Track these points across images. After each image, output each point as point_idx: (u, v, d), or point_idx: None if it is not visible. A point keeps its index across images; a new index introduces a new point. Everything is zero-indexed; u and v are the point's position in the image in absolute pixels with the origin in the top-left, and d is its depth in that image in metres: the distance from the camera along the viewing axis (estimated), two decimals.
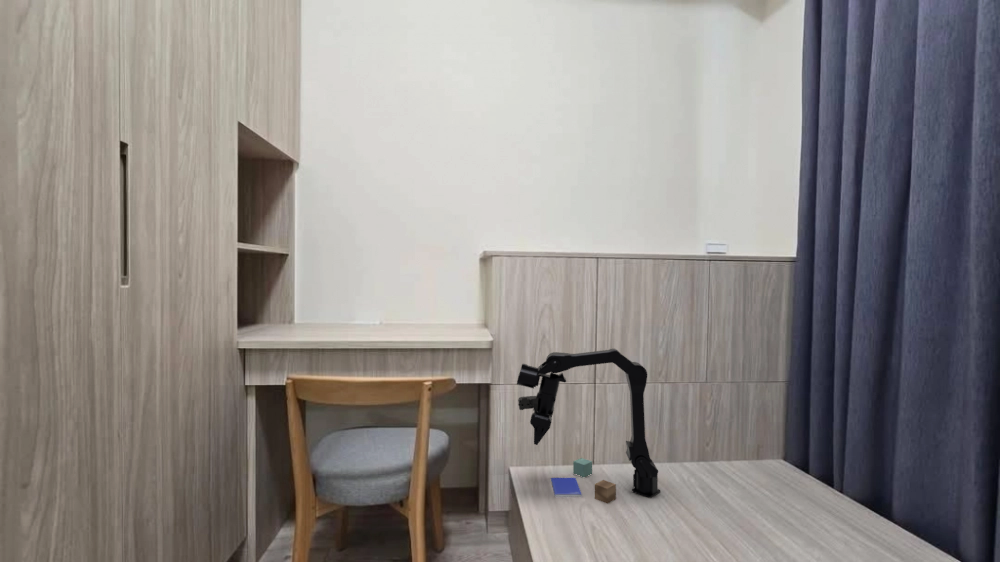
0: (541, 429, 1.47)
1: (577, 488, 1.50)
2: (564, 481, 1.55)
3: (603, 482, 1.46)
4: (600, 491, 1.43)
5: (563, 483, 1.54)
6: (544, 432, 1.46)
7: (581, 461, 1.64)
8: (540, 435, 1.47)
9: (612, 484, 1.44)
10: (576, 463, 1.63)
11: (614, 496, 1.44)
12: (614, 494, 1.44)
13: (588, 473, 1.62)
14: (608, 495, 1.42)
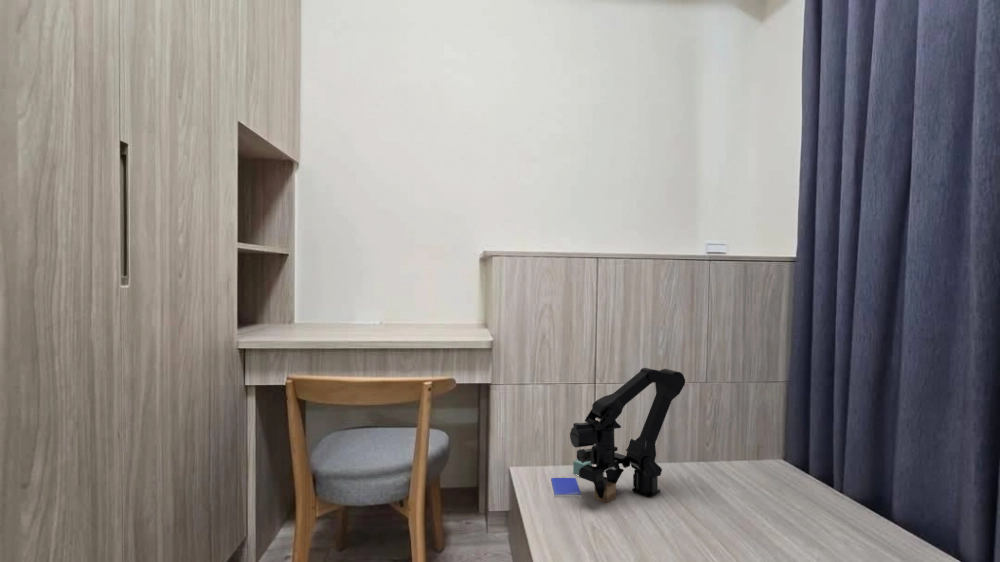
0: (599, 481, 1.42)
1: (577, 488, 1.50)
2: (564, 481, 1.55)
3: None
4: None
5: (563, 483, 1.54)
6: (602, 485, 1.41)
7: None
8: (600, 488, 1.42)
9: (612, 484, 1.44)
10: (576, 463, 1.63)
11: (614, 495, 1.44)
12: (614, 494, 1.44)
13: None
14: (608, 495, 1.42)
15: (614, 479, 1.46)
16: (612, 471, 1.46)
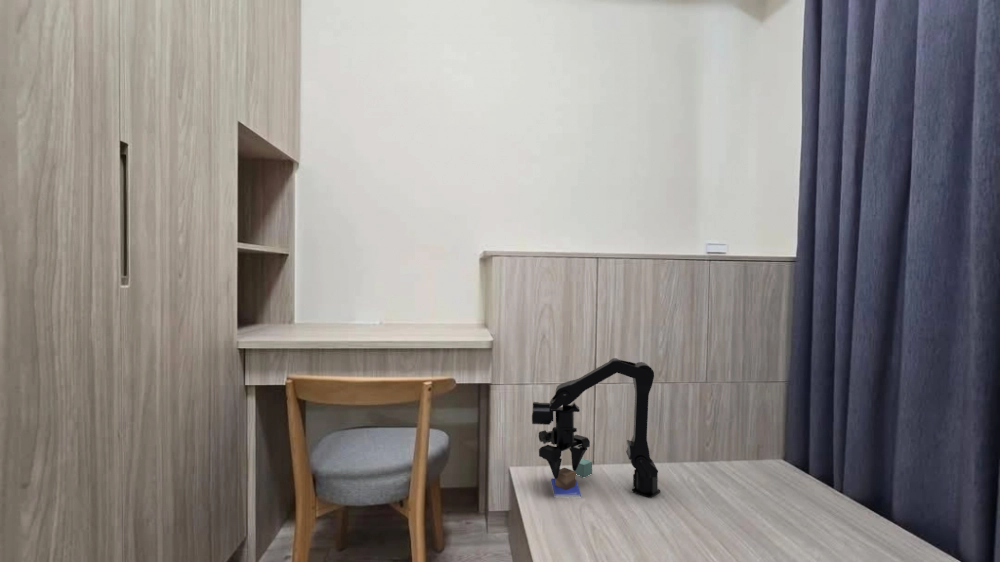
0: (554, 462, 1.48)
1: (577, 489, 1.50)
2: None
3: (564, 469, 1.53)
4: (560, 477, 1.51)
5: None
6: (556, 465, 1.47)
7: (581, 461, 1.64)
8: (555, 469, 1.48)
9: (572, 471, 1.52)
10: None
11: (573, 482, 1.51)
12: (574, 481, 1.51)
13: (588, 473, 1.62)
14: (567, 482, 1.49)
15: (578, 457, 1.55)
16: (576, 450, 1.55)
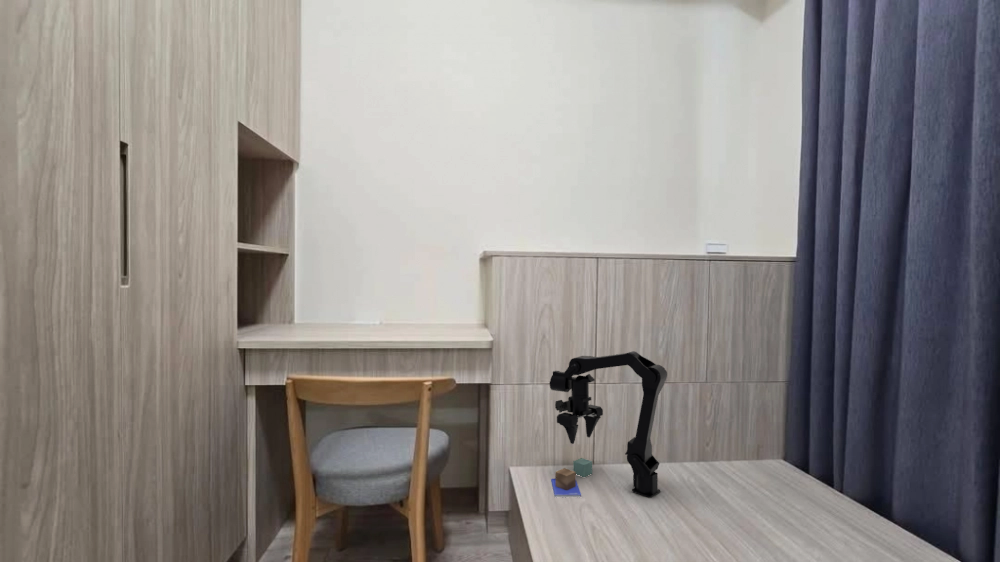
0: (571, 428, 1.58)
1: (577, 489, 1.50)
2: None
3: (564, 470, 1.53)
4: (560, 478, 1.50)
5: None
6: (573, 431, 1.56)
7: (581, 461, 1.64)
8: (572, 434, 1.57)
9: (572, 472, 1.52)
10: (576, 463, 1.63)
11: (573, 483, 1.51)
12: (574, 481, 1.51)
13: (588, 473, 1.62)
14: (568, 482, 1.49)
15: (592, 425, 1.65)
16: (590, 418, 1.65)
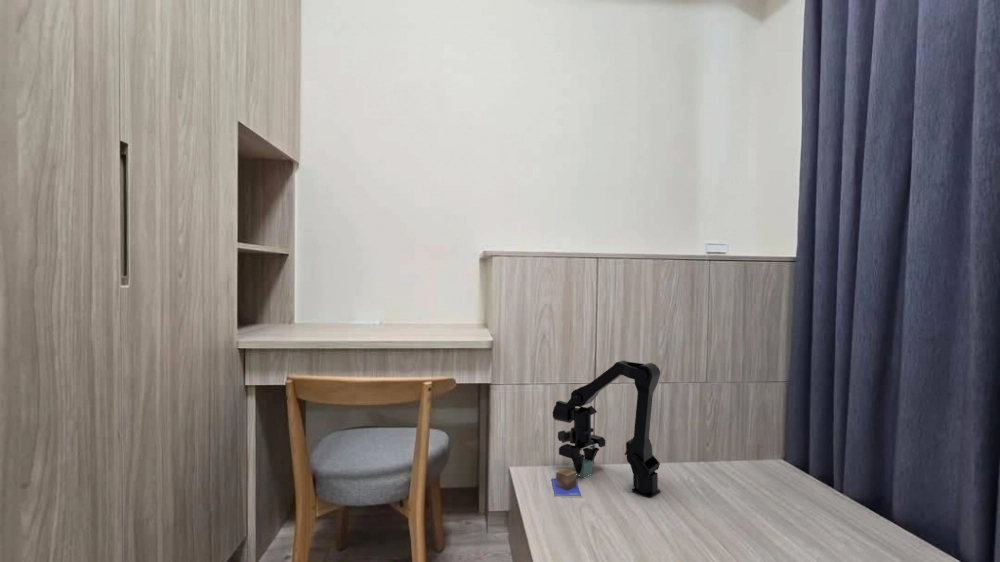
0: (577, 458, 1.60)
1: (577, 489, 1.50)
2: None
3: (564, 470, 1.53)
4: (561, 478, 1.50)
5: None
6: (579, 461, 1.59)
7: None
8: (578, 464, 1.60)
9: (573, 472, 1.52)
10: None
11: (574, 483, 1.51)
12: (574, 481, 1.51)
13: (588, 473, 1.62)
14: (568, 482, 1.49)
15: (591, 457, 1.64)
16: (589, 450, 1.65)
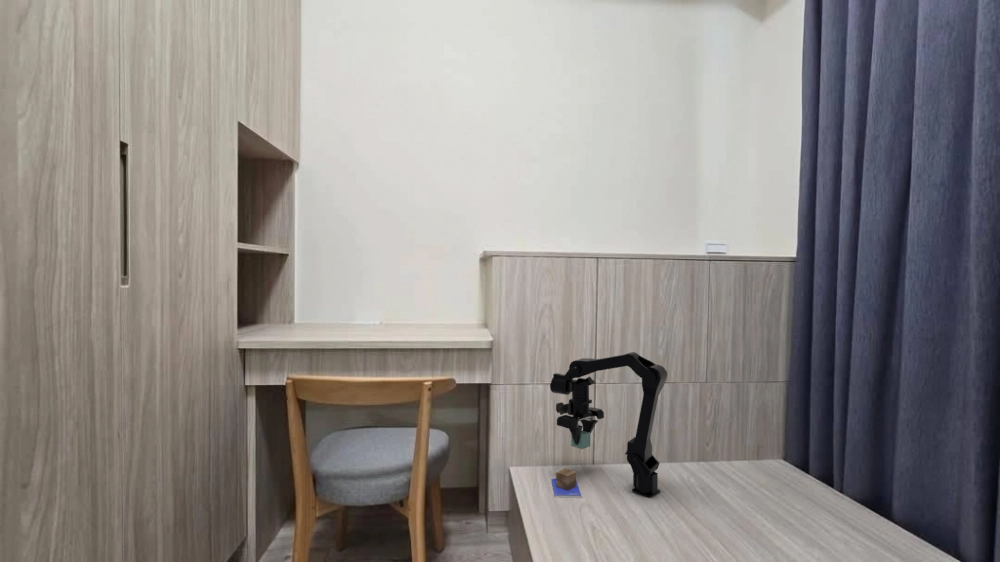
0: (575, 429, 1.59)
1: (577, 489, 1.49)
2: None
3: (564, 470, 1.53)
4: (561, 478, 1.50)
5: None
6: (577, 432, 1.58)
7: None
8: (576, 435, 1.59)
9: (573, 472, 1.52)
10: None
11: (574, 483, 1.51)
12: (575, 481, 1.51)
13: (586, 444, 1.61)
14: (569, 482, 1.49)
15: (589, 429, 1.63)
16: (587, 422, 1.64)
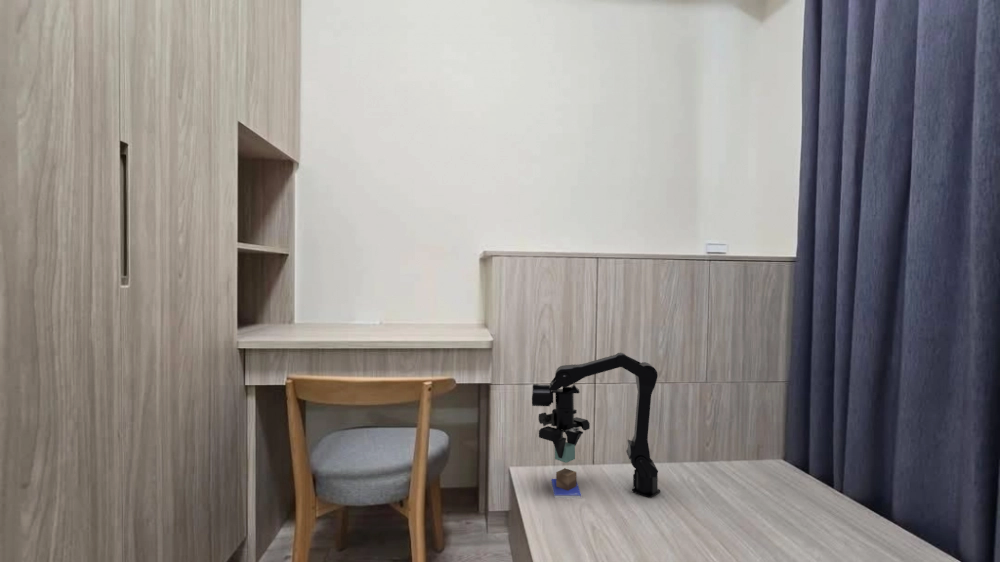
0: (559, 442, 1.49)
1: (577, 489, 1.49)
2: None
3: (564, 470, 1.53)
4: (561, 478, 1.50)
5: None
6: (561, 445, 1.48)
7: None
8: (560, 448, 1.49)
9: (573, 472, 1.52)
10: None
11: (574, 483, 1.51)
12: (575, 481, 1.51)
13: (570, 457, 1.51)
14: (569, 482, 1.49)
15: (574, 441, 1.53)
16: (572, 433, 1.54)
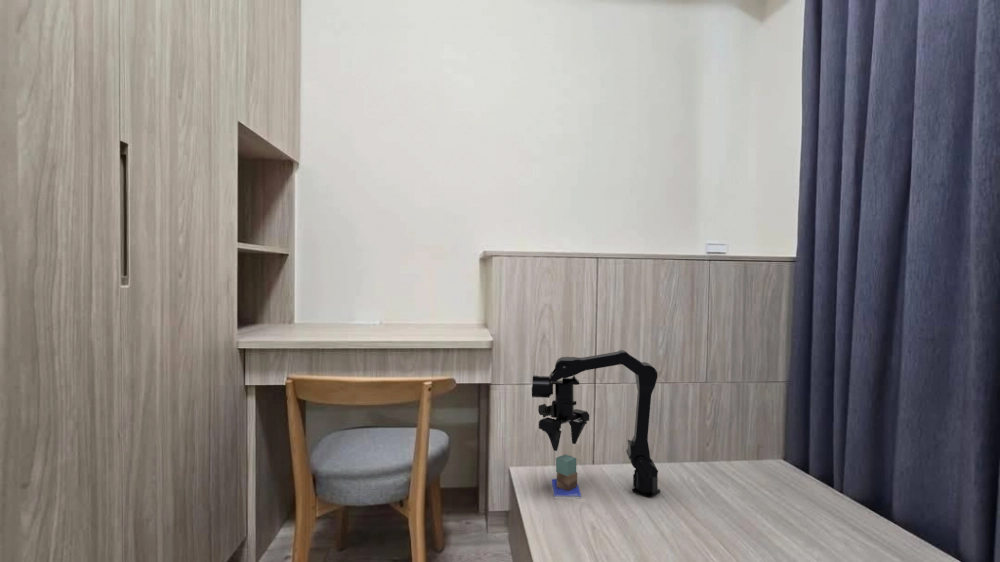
0: (554, 434, 1.48)
1: (577, 490, 1.49)
2: None
3: None
4: (562, 479, 1.50)
5: None
6: (556, 437, 1.47)
7: (564, 457, 1.52)
8: (555, 441, 1.48)
9: None
10: (558, 459, 1.51)
11: (575, 483, 1.51)
12: (575, 482, 1.51)
13: (572, 470, 1.50)
14: (569, 483, 1.49)
15: (578, 431, 1.55)
16: (576, 423, 1.55)
